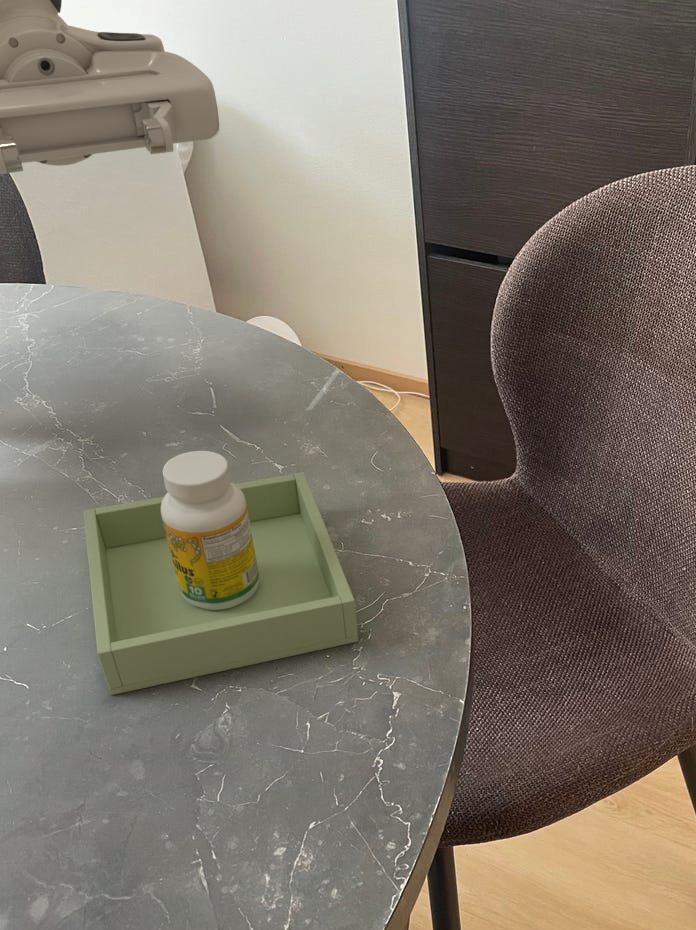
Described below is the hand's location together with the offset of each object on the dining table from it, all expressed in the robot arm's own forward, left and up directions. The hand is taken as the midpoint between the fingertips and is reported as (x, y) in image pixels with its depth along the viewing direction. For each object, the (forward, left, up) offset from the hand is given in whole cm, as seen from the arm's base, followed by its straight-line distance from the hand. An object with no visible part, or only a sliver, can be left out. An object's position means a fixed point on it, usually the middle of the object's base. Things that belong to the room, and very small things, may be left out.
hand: (86, 149), depth 66 cm
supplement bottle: (+2, -16, -24) cm, 29 cm away
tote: (+2, -16, -24) cm, 29 cm away
